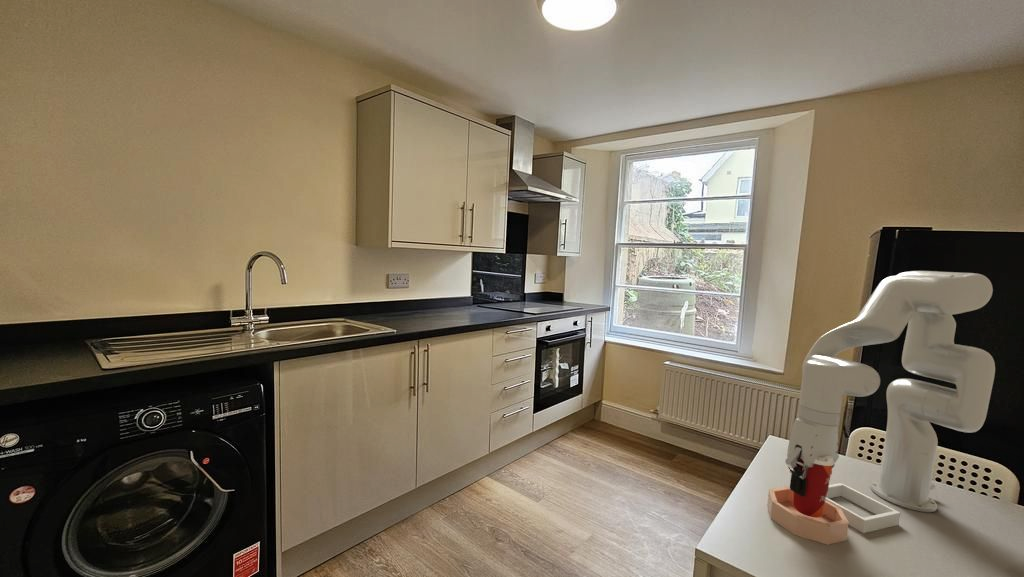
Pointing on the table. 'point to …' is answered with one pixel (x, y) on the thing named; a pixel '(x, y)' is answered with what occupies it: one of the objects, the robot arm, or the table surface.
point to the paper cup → (814, 487)
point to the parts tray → (883, 513)
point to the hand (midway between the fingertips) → (808, 490)
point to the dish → (807, 518)
